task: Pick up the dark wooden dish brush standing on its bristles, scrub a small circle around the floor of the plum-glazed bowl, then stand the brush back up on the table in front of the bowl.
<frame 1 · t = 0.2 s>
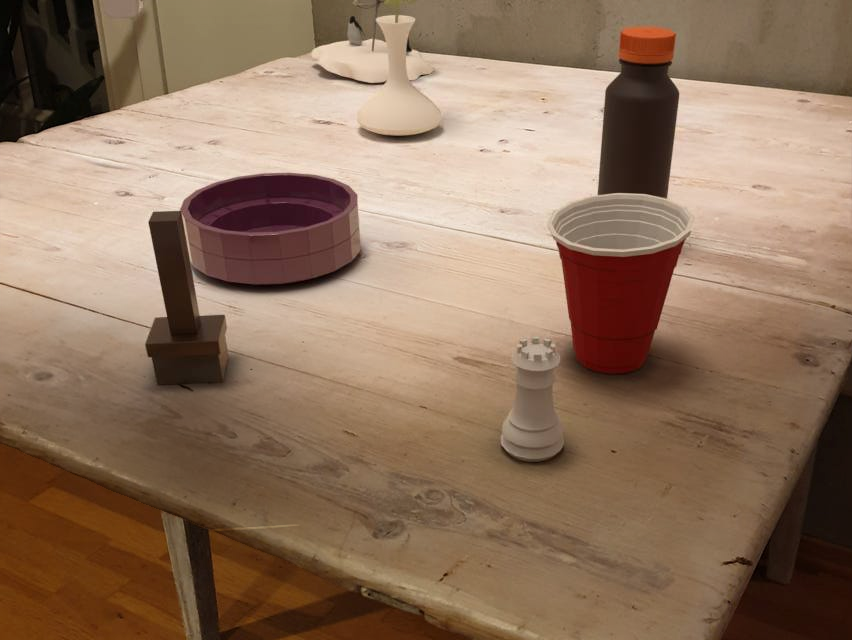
figurine: (370, 70, 156), on the table
plastic cup: (607, 359, 78), on the table
bottle: (627, 245, 98), on the table
bowl: (276, 255, 95), on the table
brush: (193, 370, 76), on the table
flower in vase: (403, 130, 130), on the table
rook chess piece: (531, 448, 68), on the table
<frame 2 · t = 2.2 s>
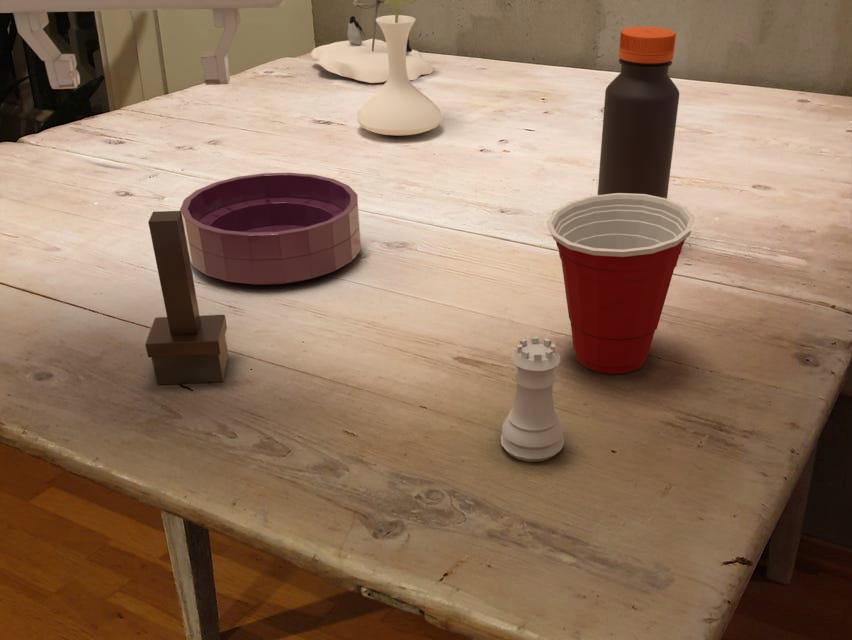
hand: (142, 84, 62), 22 cm above the table, tool pointing down, fingers open, 8 cm apart
nothing on the table moved.
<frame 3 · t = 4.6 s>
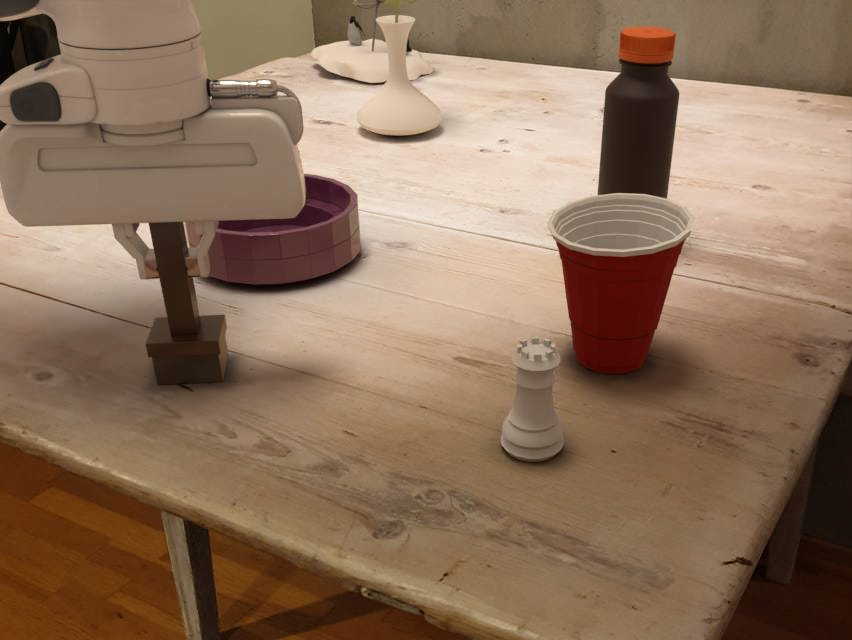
hand: (175, 275, 72), 8 cm above the table, tool pointing down, fingers closed on brush, 2 cm apart
brush: (193, 370, 76), on the table, touching gripper
everything else where it was.
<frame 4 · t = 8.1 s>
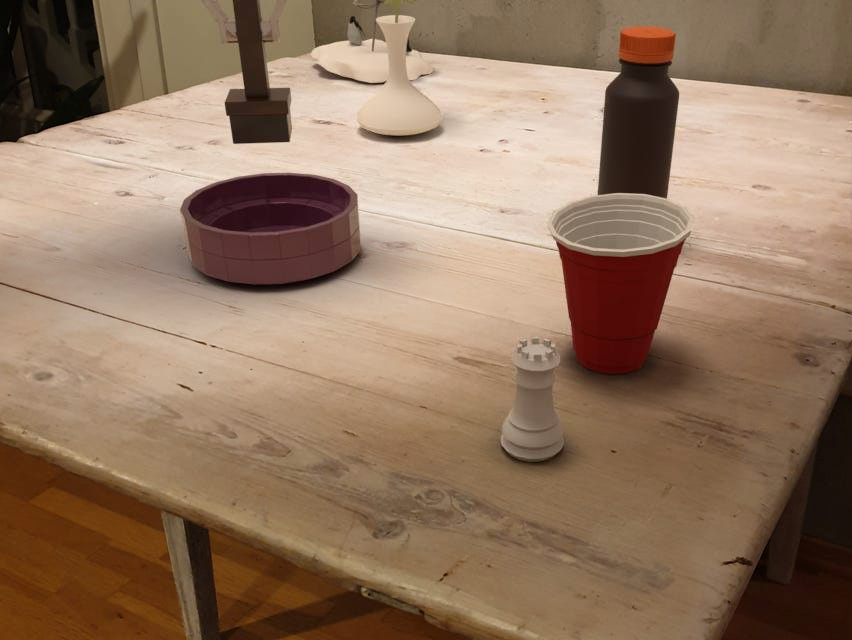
hand: (251, 42, 83), 20 cm above the table, tool pointing down, fingers closed on brush
brush: (263, 136, 88), point 12 cm above the table, touching gripper
everything else where it was.
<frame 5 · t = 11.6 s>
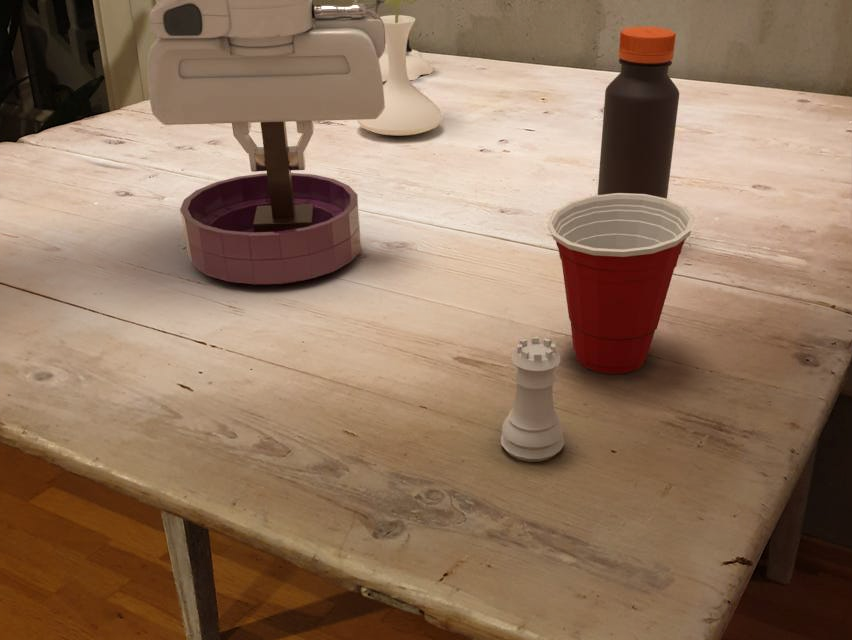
hand: (278, 169, 89), 9 cm above the table, tool pointing down, fingers closed on brush, 2 cm apart
brush: (288, 250, 94), point 1 cm above the table, touching gripper
everything else where it was.
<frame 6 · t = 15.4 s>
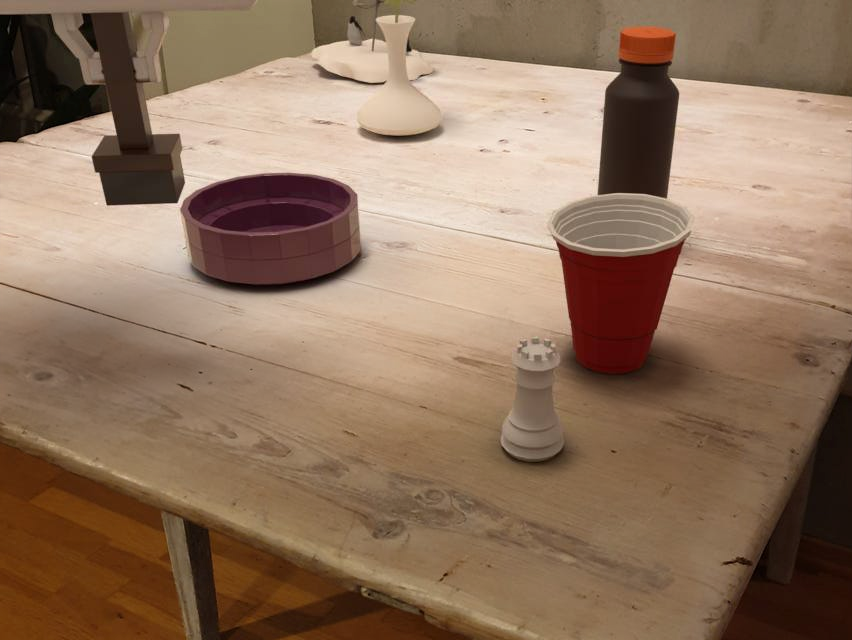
hand: (123, 82, 66), 21 cm above the table, tool pointing down, fingers closed on brush
brush: (147, 194, 71), point 13 cm above the table, touching gripper
everything else where it was.
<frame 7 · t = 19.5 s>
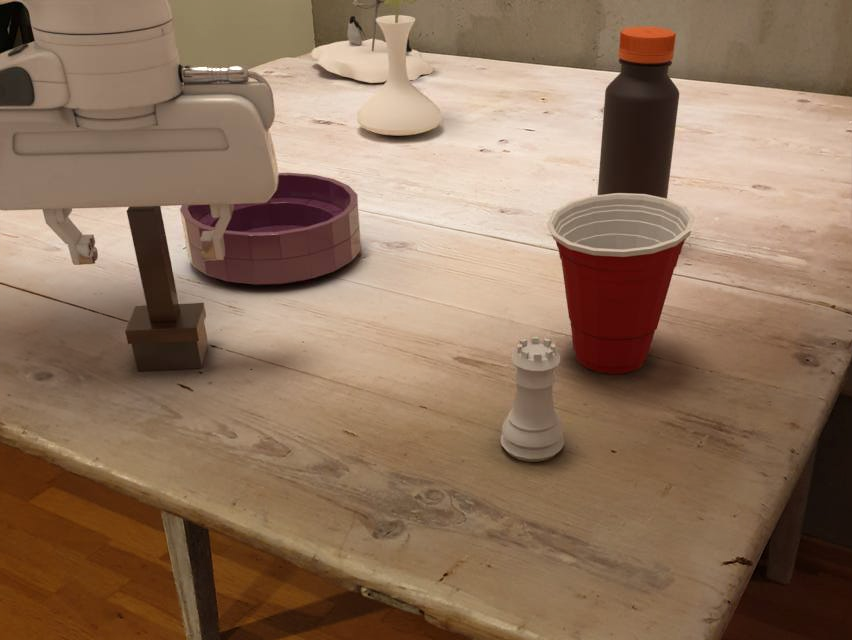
hand: (150, 259, 73), 9 cm above the table, tool pointing down, fingers open, 8 cm apart
brush: (173, 357, 78), on the table
everything else where it was.
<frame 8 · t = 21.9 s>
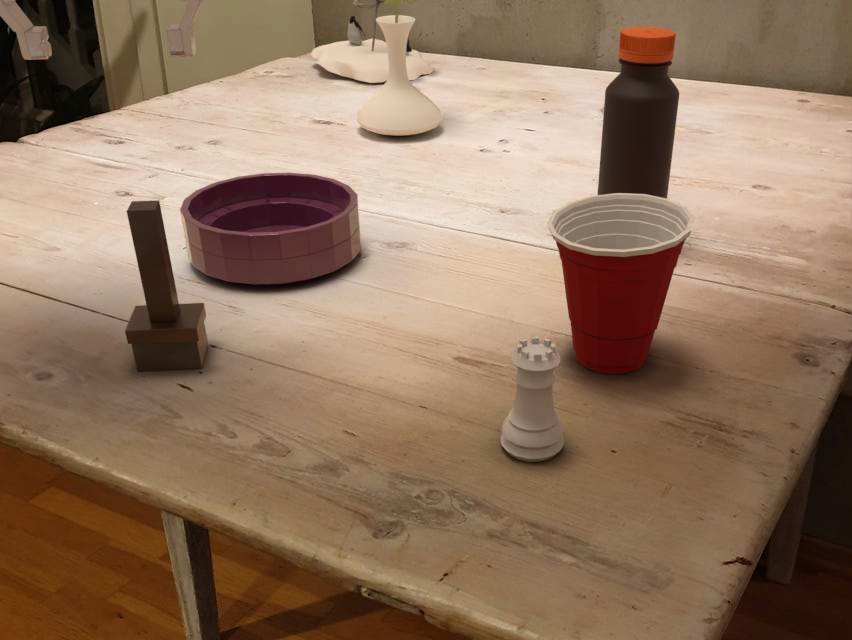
hand: (111, 56, 65), 23 cm above the table, tool pointing down, fingers open, 8 cm apart
nothing on the table moved.
at the end: brush inside the target area on the table beside the bowl (0.3 cm from its centre), on the table; brush tilted 0°; the gripper is holding nothing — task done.
